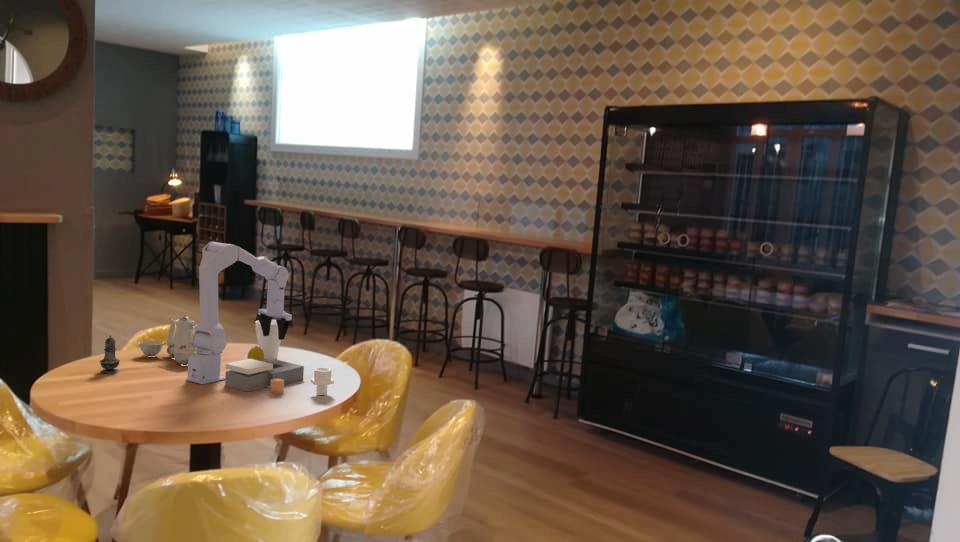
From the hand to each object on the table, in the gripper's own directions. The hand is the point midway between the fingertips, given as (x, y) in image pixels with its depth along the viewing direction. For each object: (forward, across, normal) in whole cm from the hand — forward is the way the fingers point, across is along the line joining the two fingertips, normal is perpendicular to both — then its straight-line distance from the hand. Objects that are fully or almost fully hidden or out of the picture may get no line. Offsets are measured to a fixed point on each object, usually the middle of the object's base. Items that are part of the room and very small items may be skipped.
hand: (273, 337), depth 249 cm
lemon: (+10, +1, +7) cm, 13 cm away
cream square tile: (+5, -14, +23) cm, 27 cm away
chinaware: (+10, +28, +18) cm, 35 cm away
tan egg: (+10, -26, +22) cm, 36 cm away
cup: (+10, +9, -6) cm, 15 cm away
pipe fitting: (+10, -37, +14) cm, 41 cm away
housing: (+10, -14, +17) cm, 24 cm away
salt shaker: (+10, +27, +43) cm, 52 cm away
